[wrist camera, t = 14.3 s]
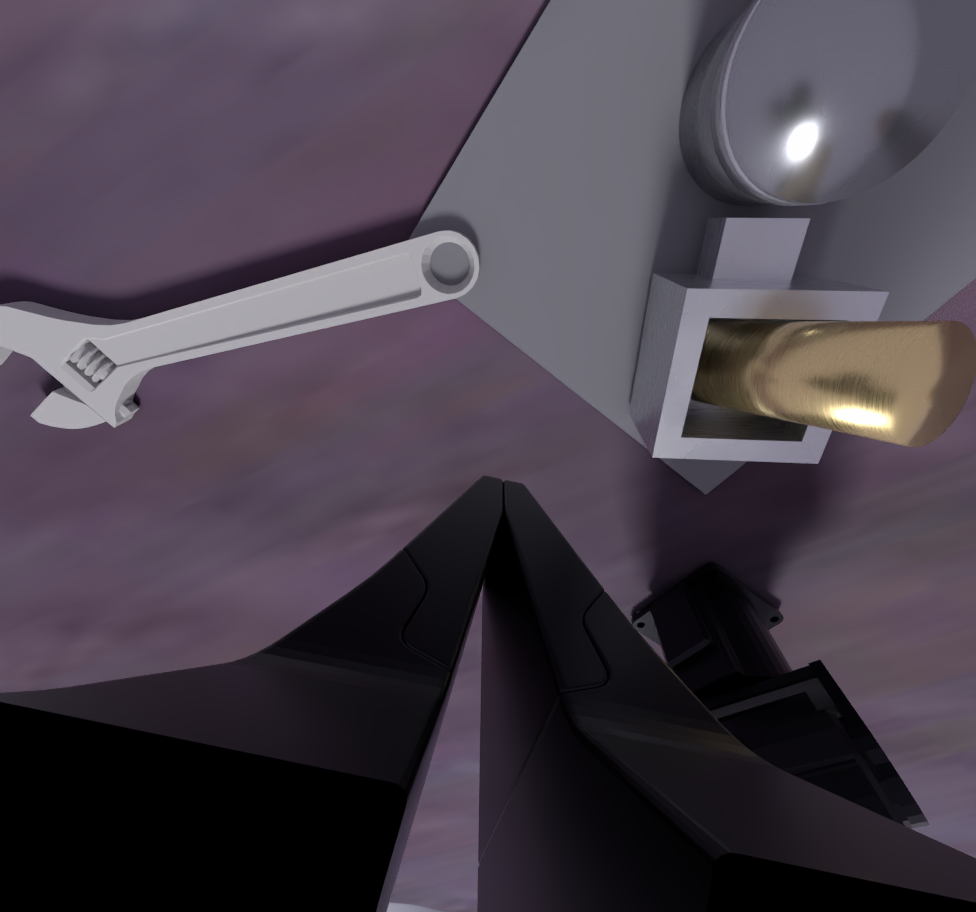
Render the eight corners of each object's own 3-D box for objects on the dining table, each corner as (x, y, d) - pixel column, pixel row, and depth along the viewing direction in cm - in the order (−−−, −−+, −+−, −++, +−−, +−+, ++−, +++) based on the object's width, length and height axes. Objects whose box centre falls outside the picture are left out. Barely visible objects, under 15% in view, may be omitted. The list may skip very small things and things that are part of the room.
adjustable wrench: (475, 219, 19) (472, 219, 17) (498, 366, 22) (496, 378, 20) (-26, 308, 22) (-67, 316, 20) (54, 426, 25) (23, 441, 23)
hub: (896, 86, 15) (1045, 36, 11) (747, 242, 18) (820, 251, 14) (784, -60, 14) (903, -186, 10) (639, 131, 17) (682, 101, 12)
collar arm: (744, -269, 12) (851, -498, 8) (994, -282, 11) (1227, -527, 8) (628, 413, 21) (652, 457, 17) (764, 418, 21) (818, 463, 17)
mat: (1103, 168, 16) (1112, 167, 16) (703, 491, 24) (705, 494, 23) (762, -352, 12) (767, -365, 11) (401, 253, 19) (399, 254, 19)
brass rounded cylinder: (743, 321, 18) (991, 320, 11) (732, 399, 19) (955, 441, 12) (680, 322, 17) (910, 321, 10) (671, 404, 18) (877, 453, 11)
